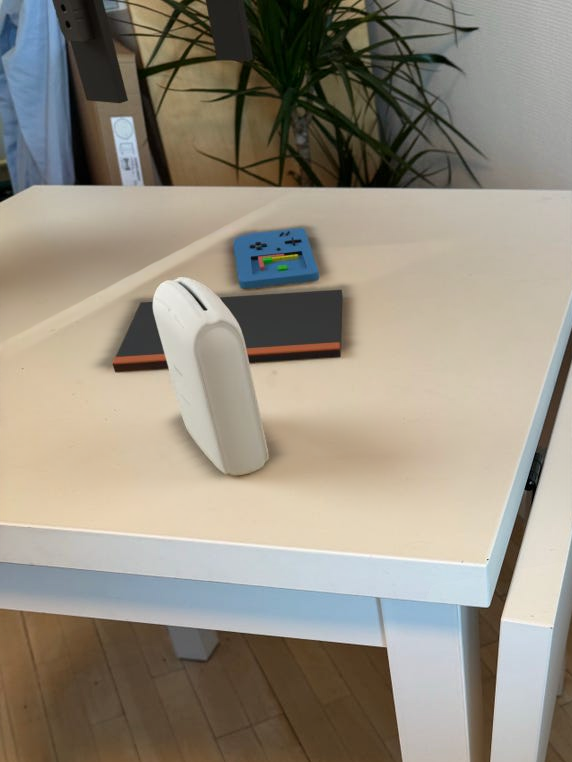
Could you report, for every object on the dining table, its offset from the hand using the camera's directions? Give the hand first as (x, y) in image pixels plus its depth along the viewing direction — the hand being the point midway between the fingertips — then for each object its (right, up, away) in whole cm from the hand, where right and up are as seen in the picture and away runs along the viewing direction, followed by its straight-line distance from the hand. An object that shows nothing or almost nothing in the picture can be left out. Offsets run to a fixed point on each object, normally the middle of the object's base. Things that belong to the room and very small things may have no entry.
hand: (176, 79), depth 62 cm
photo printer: (+1, -23, +9) cm, 25 cm away
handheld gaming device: (-2, +3, +38) cm, 38 cm away
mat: (-2, -9, +24) cm, 26 cm away
